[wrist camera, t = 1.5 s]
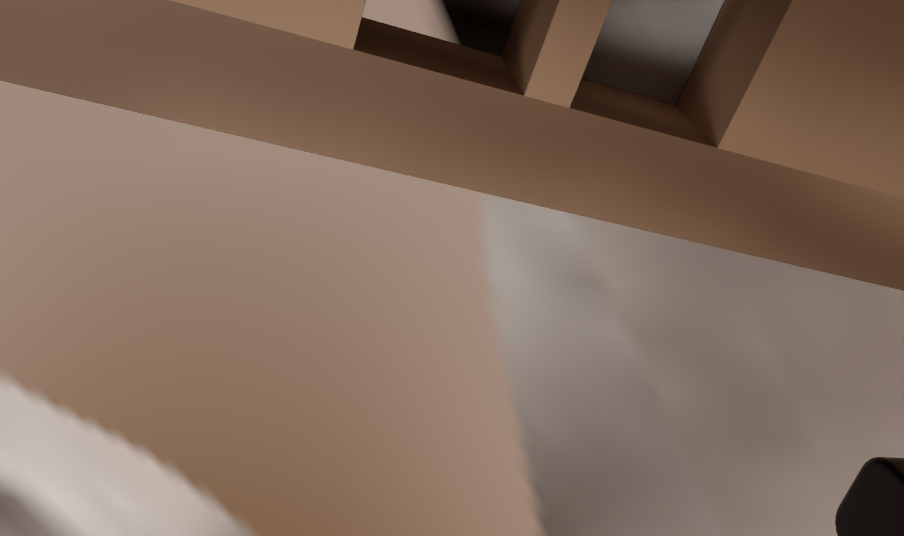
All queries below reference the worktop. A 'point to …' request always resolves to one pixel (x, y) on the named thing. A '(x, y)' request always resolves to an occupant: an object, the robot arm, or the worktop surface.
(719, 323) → the worktop surface
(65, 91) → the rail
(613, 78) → the worktop surface
